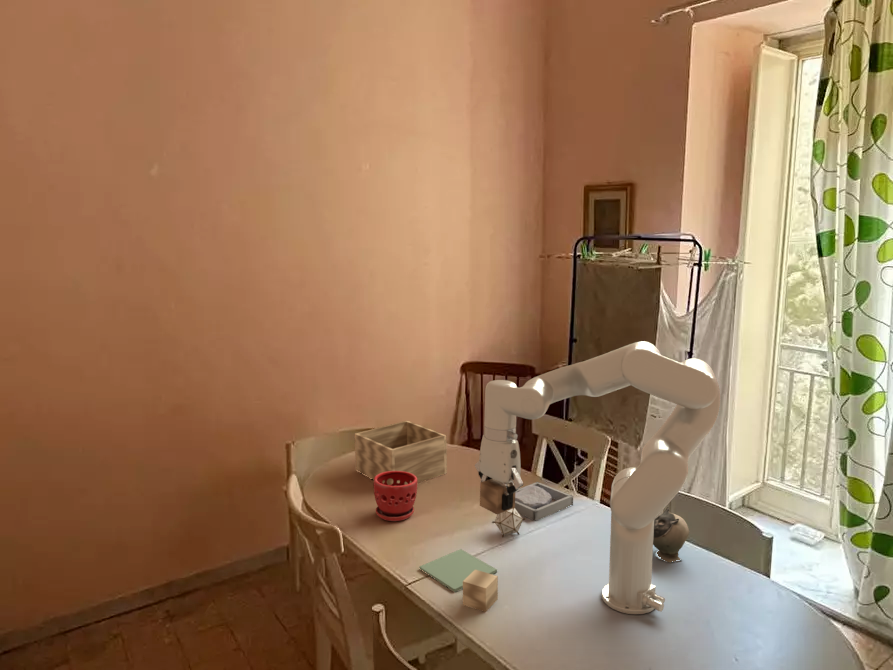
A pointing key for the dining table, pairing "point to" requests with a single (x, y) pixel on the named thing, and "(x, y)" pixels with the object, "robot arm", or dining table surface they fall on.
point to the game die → (509, 521)
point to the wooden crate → (401, 451)
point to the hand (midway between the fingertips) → (497, 503)
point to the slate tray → (536, 514)
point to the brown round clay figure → (669, 535)
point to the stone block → (533, 497)
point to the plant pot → (395, 495)
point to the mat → (455, 568)
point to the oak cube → (480, 590)
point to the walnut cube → (493, 496)
